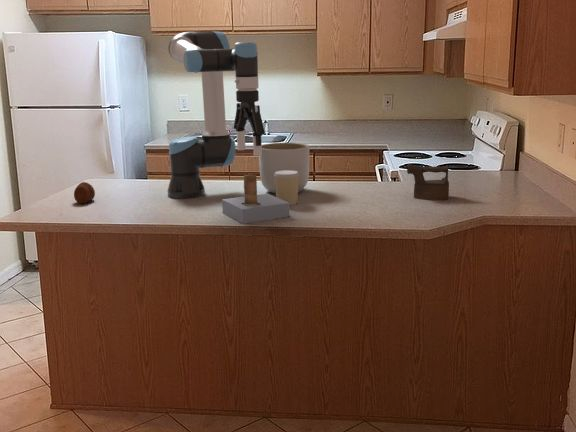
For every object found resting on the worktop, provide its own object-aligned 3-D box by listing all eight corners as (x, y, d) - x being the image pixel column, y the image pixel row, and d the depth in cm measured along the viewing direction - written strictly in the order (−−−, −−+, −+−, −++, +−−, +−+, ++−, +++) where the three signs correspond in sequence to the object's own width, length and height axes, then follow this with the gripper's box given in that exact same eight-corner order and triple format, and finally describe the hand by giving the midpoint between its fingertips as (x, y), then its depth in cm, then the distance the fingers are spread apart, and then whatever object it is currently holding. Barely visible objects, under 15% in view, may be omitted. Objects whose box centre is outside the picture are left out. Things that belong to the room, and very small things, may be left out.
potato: (70, 205, 248) (68, 185, 246) (79, 199, 259) (77, 179, 257) (90, 205, 248) (87, 185, 246) (98, 198, 259) (96, 179, 257)
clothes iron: (405, 195, 252) (406, 162, 249) (446, 195, 251) (447, 161, 248) (407, 200, 245) (408, 165, 241) (449, 199, 244) (451, 165, 240)
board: (222, 212, 231) (222, 199, 230) (267, 206, 239) (266, 193, 238) (242, 223, 216) (242, 209, 215) (289, 216, 224) (289, 202, 223)
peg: (242, 217, 225) (241, 175, 221) (254, 215, 227) (253, 173, 223) (248, 219, 221) (246, 177, 217) (260, 218, 223) (258, 176, 219)
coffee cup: (298, 199, 249) (298, 169, 246) (299, 205, 240) (299, 174, 237) (274, 200, 249) (273, 170, 246) (275, 206, 240) (274, 174, 237)
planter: (282, 199, 250) (281, 151, 246) (249, 191, 266) (248, 146, 261) (320, 191, 264) (319, 145, 259) (287, 184, 279) (286, 141, 274)
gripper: (222, 88, 223) (225, 148, 228) (252, 92, 201) (254, 158, 207) (242, 87, 226) (244, 146, 231) (273, 91, 204) (275, 156, 210)
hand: (249, 152), depth 219 cm, fingers open, 13 cm apart
